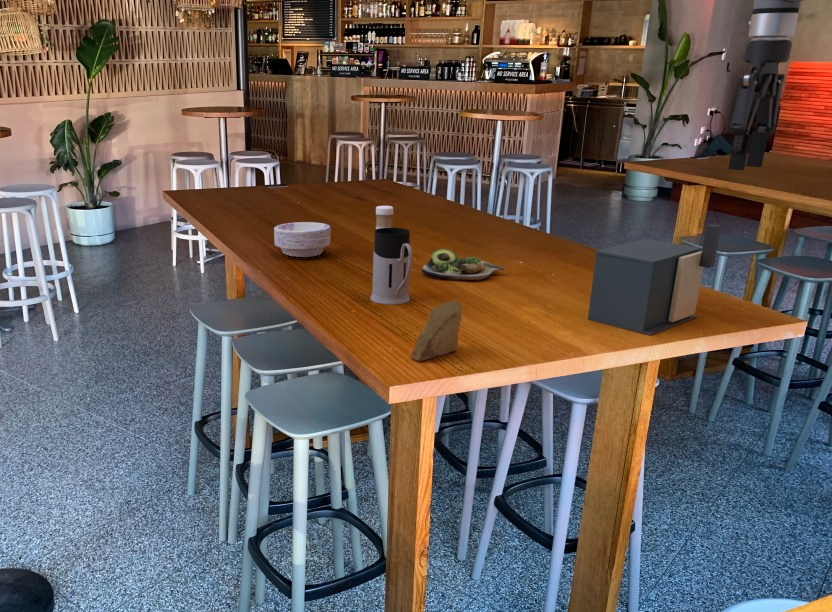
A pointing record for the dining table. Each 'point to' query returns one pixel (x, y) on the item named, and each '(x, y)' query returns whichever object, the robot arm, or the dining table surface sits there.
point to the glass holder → (391, 266)
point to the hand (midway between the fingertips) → (745, 167)
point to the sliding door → (693, 275)
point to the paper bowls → (302, 238)
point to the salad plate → (457, 267)
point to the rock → (439, 332)
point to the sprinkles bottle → (384, 217)
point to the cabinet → (636, 285)
